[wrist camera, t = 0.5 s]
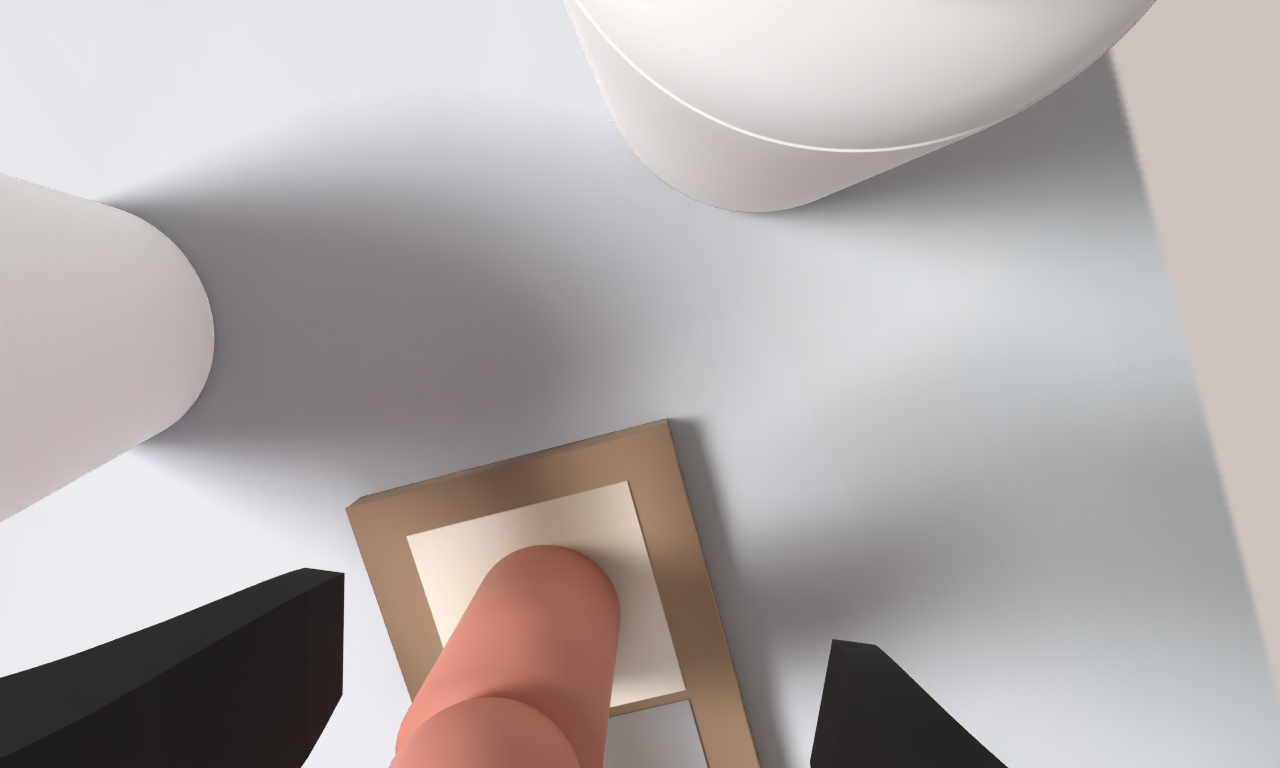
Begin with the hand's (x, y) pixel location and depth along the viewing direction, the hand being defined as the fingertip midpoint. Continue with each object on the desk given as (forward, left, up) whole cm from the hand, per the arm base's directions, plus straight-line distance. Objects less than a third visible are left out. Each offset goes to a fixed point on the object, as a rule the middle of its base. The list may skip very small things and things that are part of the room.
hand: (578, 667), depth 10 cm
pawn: (-3, -3, -9) cm, 10 cm away
